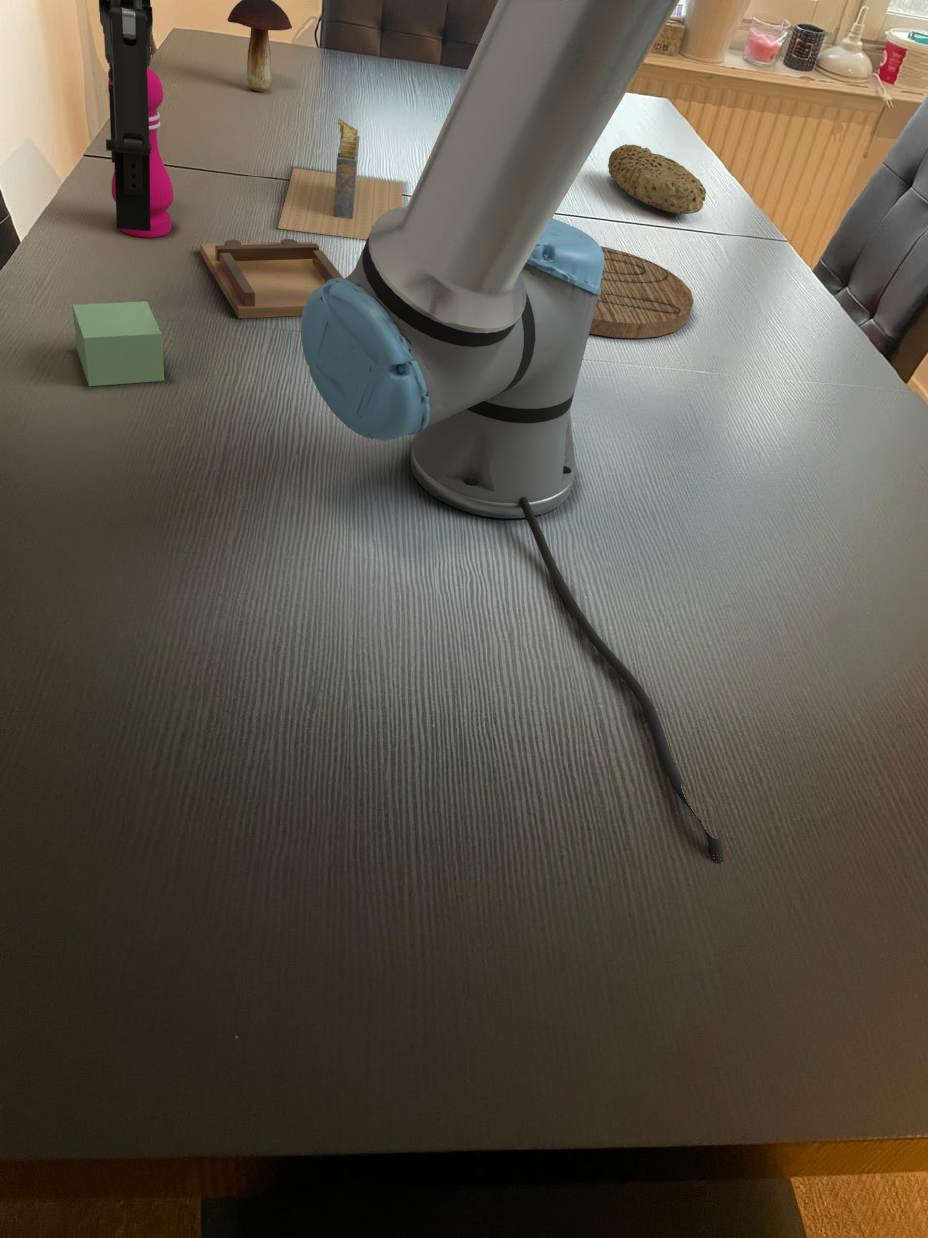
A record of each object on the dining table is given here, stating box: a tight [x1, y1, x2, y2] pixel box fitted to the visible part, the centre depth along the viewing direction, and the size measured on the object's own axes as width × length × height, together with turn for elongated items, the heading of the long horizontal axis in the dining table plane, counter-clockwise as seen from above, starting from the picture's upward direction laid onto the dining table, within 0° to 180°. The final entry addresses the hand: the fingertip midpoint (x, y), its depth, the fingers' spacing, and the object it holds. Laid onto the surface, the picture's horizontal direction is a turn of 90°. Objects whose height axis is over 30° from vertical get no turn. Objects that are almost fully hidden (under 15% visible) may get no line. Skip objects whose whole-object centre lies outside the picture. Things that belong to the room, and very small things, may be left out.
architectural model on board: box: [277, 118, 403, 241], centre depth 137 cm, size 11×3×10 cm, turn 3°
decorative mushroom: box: [226, 0, 293, 93], centre depth 172 cm, size 11×11×15 cm
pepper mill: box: [107, 66, 174, 239], centre depth 117 cm, size 7×7×20 cm
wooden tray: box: [199, 238, 345, 320], centre depth 116 cm, size 18×14×3 cm
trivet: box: [589, 245, 695, 339], centre depth 127 cm, size 25×25×2 cm
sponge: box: [607, 143, 707, 215], centre depth 159 cm, size 13×8×20 cm
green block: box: [71, 301, 165, 387], centre depth 95 cm, size 7×7×5 cm
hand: (130, 193), depth 88 cm, fingers open, 13 cm apart
